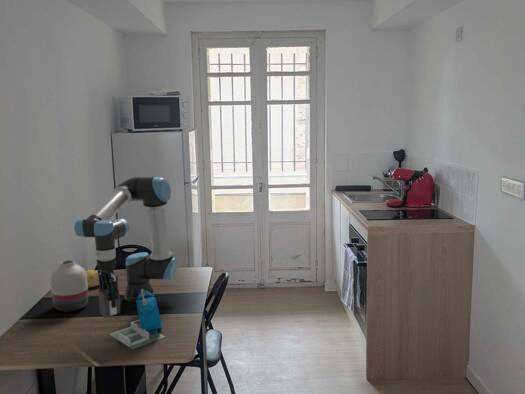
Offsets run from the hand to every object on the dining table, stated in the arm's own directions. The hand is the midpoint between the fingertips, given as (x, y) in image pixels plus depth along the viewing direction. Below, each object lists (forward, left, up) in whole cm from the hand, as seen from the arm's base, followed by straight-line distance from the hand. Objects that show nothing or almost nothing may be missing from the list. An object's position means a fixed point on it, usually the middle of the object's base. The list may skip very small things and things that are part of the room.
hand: (110, 312), depth 213 cm
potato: (-73, +26, -15) cm, 79 cm away
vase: (-53, +5, -15) cm, 55 cm away
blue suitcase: (0, +18, -15) cm, 23 cm away
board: (+2, +11, -14) cm, 18 cm away
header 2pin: (-3, +16, -13) cm, 21 cm away
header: (+5, +8, -13) cm, 16 cm away
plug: (0, 0, 0) cm, 0 cm away
